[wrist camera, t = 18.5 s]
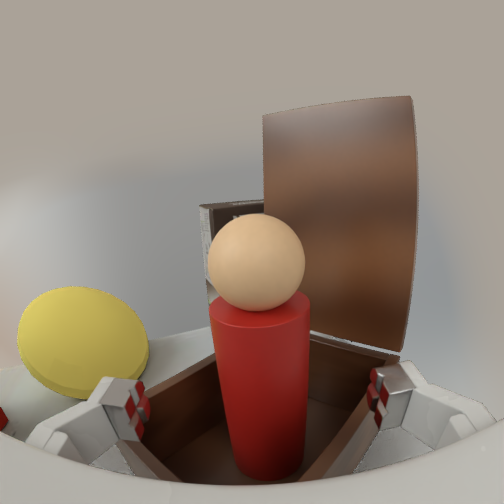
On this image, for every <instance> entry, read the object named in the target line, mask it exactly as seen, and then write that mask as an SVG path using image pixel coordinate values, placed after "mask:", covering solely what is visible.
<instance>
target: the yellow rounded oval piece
mask: <svg viewBox="0 0 504 504" xmlns="http://www.w3.org/2000/svg"><path fill="white" fill-rule="evenodd" d="M17 340H18V342H17V344H18V349H19V352H20V356H21V359H22V361H23V363H24V364H25V366H26V367H27V369H28V370H29V372H30V373H31V375H32V376H34V377H35V378H36V379H37V380H38V381H39V382H41V383H42V384H43V385H44V386H45V387H47V388H49V389H51V390H53V391H55V392H57V393H60V394H62V395H64V396H69V397H74V398H80V399H88V398H89V397H90V395H91V394H92V392H93V391H94V389H95V388H96V387H97V385H98V384H99V382H100V381H101V379H102V378H103V377H105V376H107V377H115V378H125V379H134V380H137V379H138V378H139V376H140V375H141V373H142V372H143V371H144V369H145V367H146V363H147V360H148V357H149V344H148V338H147V335H146V332H145V329H144V326H143V323H142V322H141V320H140V319H139V317H138V316H137V314H136V313H135V311H133V310H132V309H131V308H130V307H129V306H128V305H127V304H126V303H124V302H123V301H121V300H120V299H118V298H116V297H115V296H113V295H111V294H108V293H106V292H103V291H101V290H98V289H93V288H87V287H72V286H70V287H63V288H57V289H54V290H51V291H49V292H46V293H43V294H42V295H40V296H39V297H38V298H36V299H35V300H33V301H32V302H31V303H30V305H29V306H28V307H27V308H26V310H25V311H24V313H23V315H22V318H21V321H20V323H19V327H18V339H17Z"/></svg>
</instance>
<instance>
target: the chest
mask: <svg viewBox="0 0 504 504" xmlns="http://www.w3.org/2000/svg"><path fill="white" fill-rule="evenodd" d="M399 360H400V356H397V355H393V354H390V355H389V354H388V353H383V352H379V351H375V350H371V349H367V348H363V347H358V346H355V345H351V344H347V343H343V342H339V341H336V340H332V339H328V338H325V337H321V336H317V335H314V334H310V349H309V380H308V402H307V419H306V434H305V448H304V458H303V461H302V464H301V465H300V467H299V468H298V469H297V470H296V471H295V472H294V473H293V474H291V475H290V476H288V477H286V478H283V479H280V480H275V481H260V480H255V479H252V478H250V477H248V476H246V475H245V474H243V473H242V472H241V471H240V470H239V469H238V467H237V465H236V463H235V459H234V455H233V450H232V445H231V440H230V435H229V430H228V425H227V419H226V414H225V409H224V403H223V398H222V392H221V386H220V380H219V374H218V368H217V362H216V356H215V353H214V354H212V355H210V356H208V357H207V358H205V359H203V360H201V361H200V362H198V363H196V364H194V365H193V366H191V367H189V368H187V369H186V370H184V371H182V372H180V373H178V374H176V375H175V376H173V377H171V378H169V379H167V380H166V381H164V382H162V383H160V384H158V385H156V386H154V387H152V388H151V389H149V390H147V391H145V392H143V394H145V395H146V396H147V397H148V399H149V402H150V407H151V411H150V417H149V420H148V421H147V422H146V423H144V424H143V426H144V428H145V430H144V433H143V435H142V438H141V441H140V442H138V441H130V440H122V439H119V441H118V442H117V443H116V445H117V446H118V448H119V450H120V452H121V453H122V455H123V457H124V458H125V460H126V462H127V463H128V465H129V466H130V468H131V470H132V471H133V473H134V474H135V476H138V477H144V478H150V479H156V480H163V481H171V482H181V483H192V484H206V485H270V484H285V483H296V482H305V481H313V480H320V479H327V478H333V477H338V476H344V475H349V474H352V473H353V471H354V470H355V468H356V467H357V465H358V464H359V462H360V461H361V459H362V458H363V456H364V454H365V453H366V451H367V450H368V448H369V446H370V445H371V443H372V441H373V440H374V438H375V436H376V435H377V433H378V431H379V429H378V427H377V425H376V423H375V420H374V415H375V413H374V412H372V411H371V410H370V409H369V407H368V403H367V395H366V393H367V387H368V385H369V384H370V383H371V380H370V378H369V376H370V371H371V369H372V368H376V367H381V366H386V365H391V364H396V363H398V362H399Z"/></svg>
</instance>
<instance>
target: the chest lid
mask: <svg viewBox="0 0 504 504" xmlns="http://www.w3.org/2000/svg"><path fill="white" fill-rule="evenodd" d="M263 171H264V172H263V173H264V215H269V216H272V217H275V218H277V219H279V220H281V221H283V222H284V223H285V224H287V225H288V226H289V227H290V228H291V229H292V230H293V231H294V232H295V234H296V235H297V236H298V238H299V240H300V242H301V244H302V247H303V250H304V255H305V270H304V275H303V279H302V281H301V284H300V285H299V287H298V289H297V291H300V292H301V293H303V294H305V295H306V296H307V297H308V299H309V301H310V330H312V331H315V332H319V333H323V334H327V335H330V336H334V337H338V338H342V339H346V340H350V341H354V342H358V343H362V344H366V345H370V346H375V347H378V348H383V349H387V350H391V351H396V352H401V350H402V348H403V344H404V339H405V334H406V328H407V322H408V316H409V310H410V304H411V297H412V289H413V281H414V271H415V260H416V249H417V233H418V206H419V205H418V204H419V203H418V202H419V200H418V199H419V186H418V185H419V183H418V182H419V179H418V152H417V136H416V125H415V115H414V106H413V100H412V98H411V96H396V97H382V98H370V99H360V100H352V101H344V102H336V103H329V104H322V105H316V106H309V107H304V108H298V109H292V110H287V111H282V112H277V113H272V114H267V115H263Z"/></svg>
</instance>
